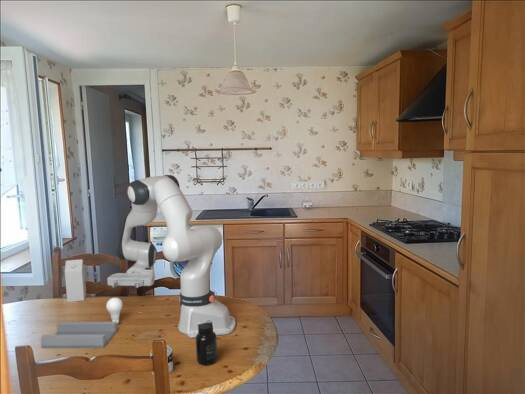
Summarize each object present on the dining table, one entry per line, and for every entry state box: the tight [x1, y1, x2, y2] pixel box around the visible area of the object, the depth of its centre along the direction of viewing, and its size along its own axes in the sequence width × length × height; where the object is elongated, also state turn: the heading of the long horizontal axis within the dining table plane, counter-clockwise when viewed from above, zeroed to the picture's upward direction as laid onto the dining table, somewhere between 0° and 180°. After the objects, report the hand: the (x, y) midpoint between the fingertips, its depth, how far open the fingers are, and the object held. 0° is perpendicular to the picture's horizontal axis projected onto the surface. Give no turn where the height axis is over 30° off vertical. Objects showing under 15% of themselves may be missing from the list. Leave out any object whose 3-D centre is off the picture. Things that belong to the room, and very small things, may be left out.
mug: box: [149, 343, 174, 376], centre depth 118 cm, size 10×7×7 cm, turn 171°
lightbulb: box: [105, 297, 124, 324], centre depth 148 cm, size 6×6×11 cm
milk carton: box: [64, 258, 87, 303], centre depth 174 cm, size 7×7×19 cm
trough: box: [40, 321, 118, 349], centre depth 137 cm, size 22×12×4 cm, turn 89°
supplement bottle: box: [195, 323, 218, 366], centre depth 122 cm, size 7×7×12 cm
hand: (125, 286), depth 160 cm, fingers open, 8 cm apart
